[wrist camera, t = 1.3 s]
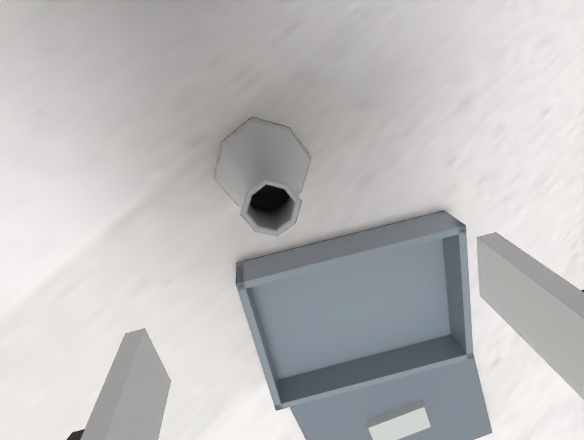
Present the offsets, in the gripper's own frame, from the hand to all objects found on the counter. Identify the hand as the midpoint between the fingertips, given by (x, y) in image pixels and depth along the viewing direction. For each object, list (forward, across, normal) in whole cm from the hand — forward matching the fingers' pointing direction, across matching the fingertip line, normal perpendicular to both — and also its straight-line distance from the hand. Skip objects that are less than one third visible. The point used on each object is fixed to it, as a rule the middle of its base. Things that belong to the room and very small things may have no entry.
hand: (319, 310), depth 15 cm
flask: (+17, -1, +2) cm, 17 cm away
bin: (+17, +4, -13) cm, 21 cm away
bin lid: (+16, +5, -28) cm, 32 cm away
